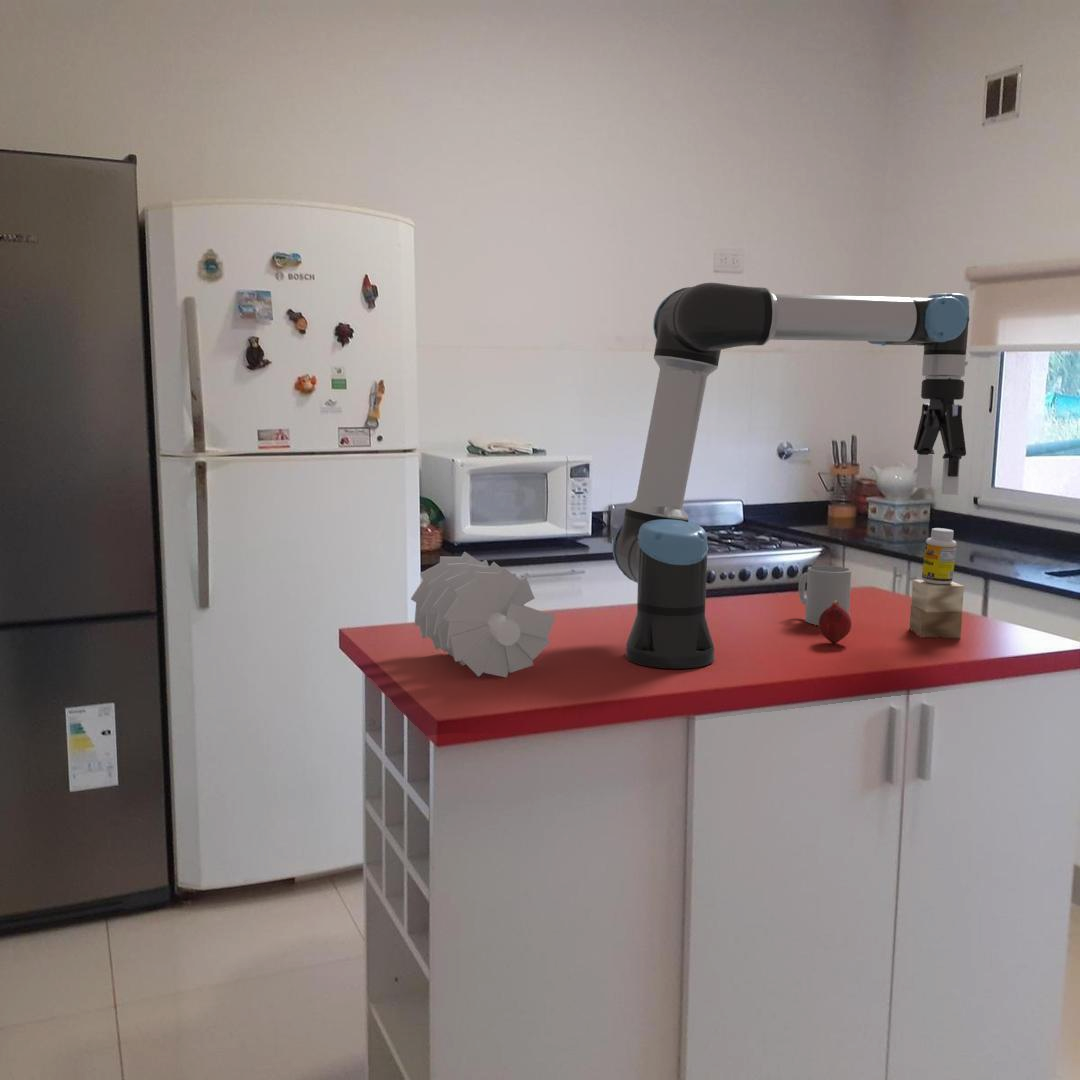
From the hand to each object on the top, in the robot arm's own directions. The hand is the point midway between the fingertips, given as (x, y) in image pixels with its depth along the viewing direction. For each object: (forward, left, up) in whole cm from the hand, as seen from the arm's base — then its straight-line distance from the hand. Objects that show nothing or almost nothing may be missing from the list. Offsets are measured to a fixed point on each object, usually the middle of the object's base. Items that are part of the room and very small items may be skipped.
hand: (935, 491), depth 209 cm
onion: (-21, -10, -28) cm, 36 cm away
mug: (-18, +10, -28) cm, 34 cm away
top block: (+1, -1, -23) cm, 23 cm away
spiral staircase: (-86, -26, -28) cm, 94 cm away
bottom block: (+1, -1, -28) cm, 28 cm away
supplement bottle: (+1, -1, -18) cm, 18 cm away
